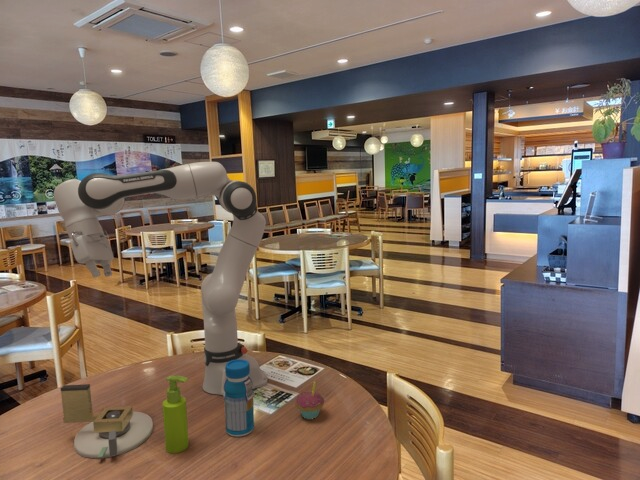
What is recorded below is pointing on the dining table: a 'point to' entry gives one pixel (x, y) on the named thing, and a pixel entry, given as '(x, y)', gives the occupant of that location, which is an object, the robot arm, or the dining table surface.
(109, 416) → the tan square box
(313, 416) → the cupcake
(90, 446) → the plate
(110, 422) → the tan piece
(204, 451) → the dining table surface
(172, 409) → the soap dispenser
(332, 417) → the dining table surface
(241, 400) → the beverage bottle
